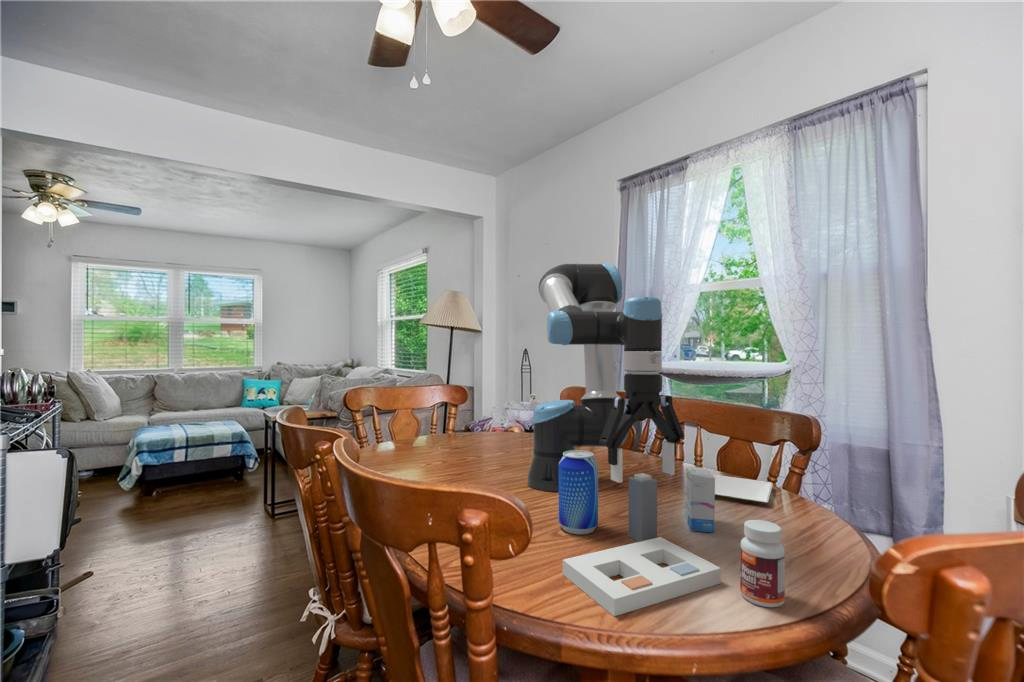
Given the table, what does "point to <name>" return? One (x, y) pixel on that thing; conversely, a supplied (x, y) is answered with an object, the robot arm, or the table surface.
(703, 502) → the ink box
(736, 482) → the plate
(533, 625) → the table surface
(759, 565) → the pill bottle
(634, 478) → the plug
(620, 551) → the socket board
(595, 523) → the beer can
